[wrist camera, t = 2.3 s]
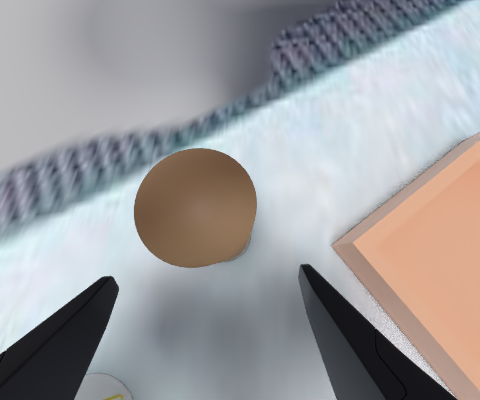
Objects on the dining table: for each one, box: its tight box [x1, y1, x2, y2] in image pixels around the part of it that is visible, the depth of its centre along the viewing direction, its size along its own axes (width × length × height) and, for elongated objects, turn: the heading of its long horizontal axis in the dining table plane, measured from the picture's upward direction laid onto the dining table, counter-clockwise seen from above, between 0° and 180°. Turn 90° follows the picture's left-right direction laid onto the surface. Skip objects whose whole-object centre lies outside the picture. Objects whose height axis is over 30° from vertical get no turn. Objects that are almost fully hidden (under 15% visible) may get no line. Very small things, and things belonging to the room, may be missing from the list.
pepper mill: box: [134, 148, 257, 268], centre depth 14 cm, size 5×5×12 cm
